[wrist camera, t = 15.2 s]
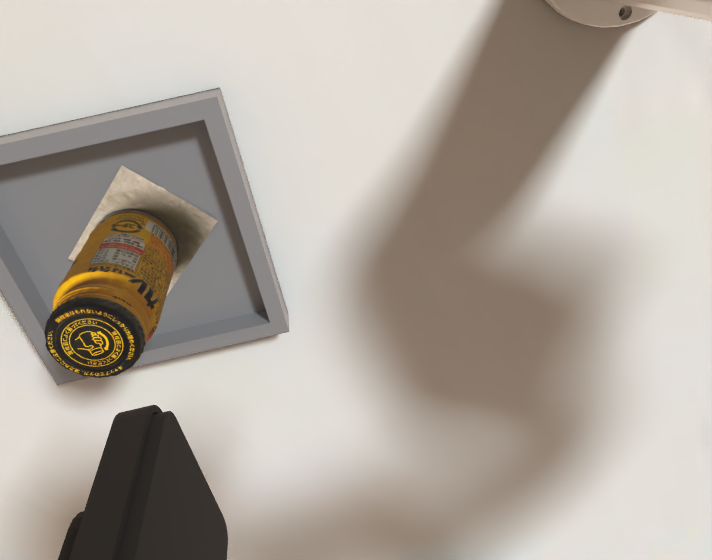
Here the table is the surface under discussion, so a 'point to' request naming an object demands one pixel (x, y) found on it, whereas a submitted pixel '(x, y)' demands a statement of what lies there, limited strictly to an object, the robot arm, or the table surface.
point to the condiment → (122, 276)
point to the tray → (166, 169)
